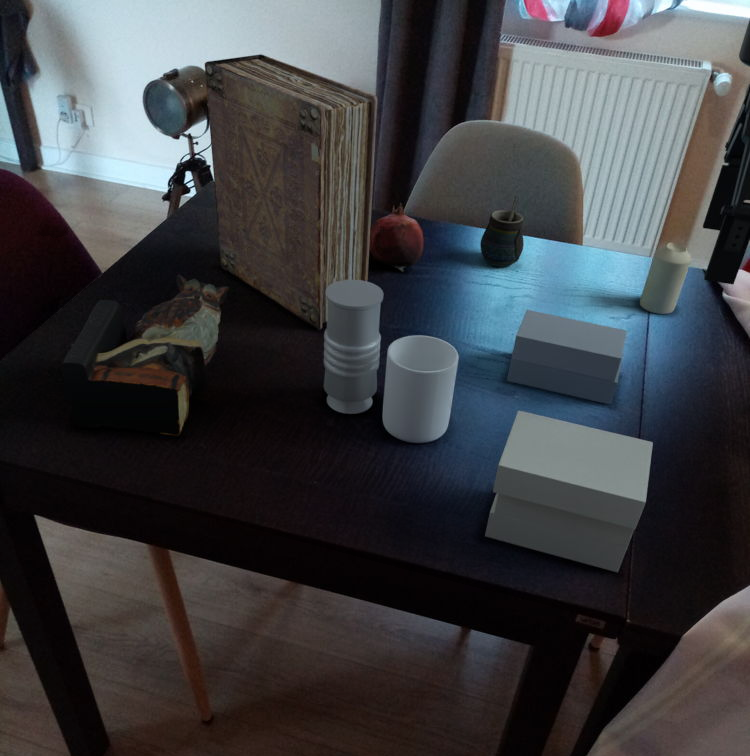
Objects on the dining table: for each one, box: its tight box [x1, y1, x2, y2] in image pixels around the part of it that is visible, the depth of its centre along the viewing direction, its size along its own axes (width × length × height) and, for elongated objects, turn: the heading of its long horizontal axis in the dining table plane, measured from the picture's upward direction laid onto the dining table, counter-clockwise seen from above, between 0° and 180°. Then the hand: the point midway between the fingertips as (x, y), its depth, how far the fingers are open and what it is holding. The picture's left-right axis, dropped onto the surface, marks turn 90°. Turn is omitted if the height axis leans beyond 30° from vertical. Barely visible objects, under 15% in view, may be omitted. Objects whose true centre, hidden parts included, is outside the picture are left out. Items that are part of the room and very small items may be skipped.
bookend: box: [61, 274, 230, 437], centre depth 98 cm, size 15×11×25 cm
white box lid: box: [492, 410, 654, 530], centre depth 79 cm, size 14×10×4 cm
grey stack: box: [506, 309, 628, 405], centre depth 105 cm, size 14×8×7 cm, turn 71°
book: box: [204, 53, 378, 331], centre depth 112 cm, size 25×9×30 cm, turn 42°
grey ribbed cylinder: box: [323, 280, 385, 415], centre depth 96 cm, size 7×7×15 cm
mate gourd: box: [479, 196, 525, 268], centre depth 131 cm, size 7×8×10 cm
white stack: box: [484, 493, 635, 573], centre depth 82 cm, size 14×8×7 cm, turn 71°
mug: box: [381, 334, 460, 444], centre depth 95 cm, size 12×8×10 cm
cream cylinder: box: [639, 241, 693, 315], centre depth 122 cm, size 6×6×10 cm
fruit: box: [369, 202, 424, 273], centre depth 128 cm, size 9×10×10 cm
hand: (716, 253), depth 81 cm, fingers open, 13 cm apart
